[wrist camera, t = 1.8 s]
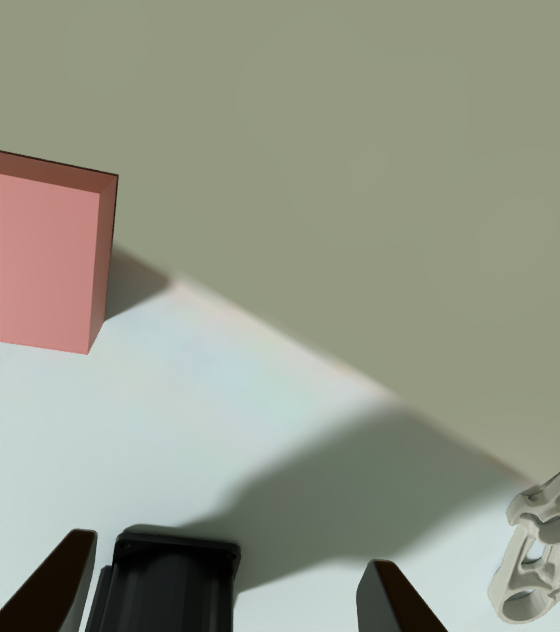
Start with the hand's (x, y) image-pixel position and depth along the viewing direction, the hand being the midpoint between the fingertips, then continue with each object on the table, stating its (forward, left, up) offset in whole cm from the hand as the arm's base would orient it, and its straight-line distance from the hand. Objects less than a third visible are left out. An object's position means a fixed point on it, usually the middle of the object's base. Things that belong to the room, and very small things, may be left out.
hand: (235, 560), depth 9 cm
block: (+9, 0, -13) cm, 16 cm away
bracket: (-21, +10, -14) cm, 27 cm away
